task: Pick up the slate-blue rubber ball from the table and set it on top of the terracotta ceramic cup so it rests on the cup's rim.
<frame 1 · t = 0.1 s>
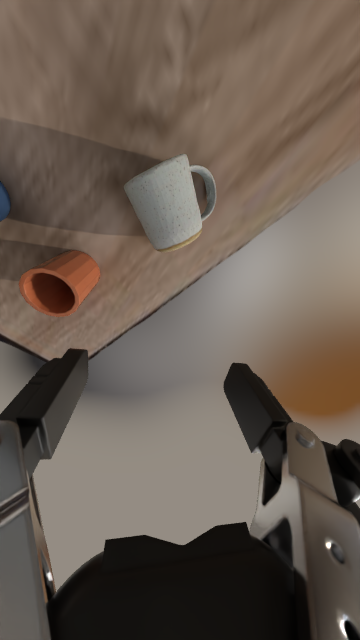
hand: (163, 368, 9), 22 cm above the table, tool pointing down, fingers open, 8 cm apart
cup: (79, 270, 27), on the table
ceramic mug: (174, 202, 24), on the table
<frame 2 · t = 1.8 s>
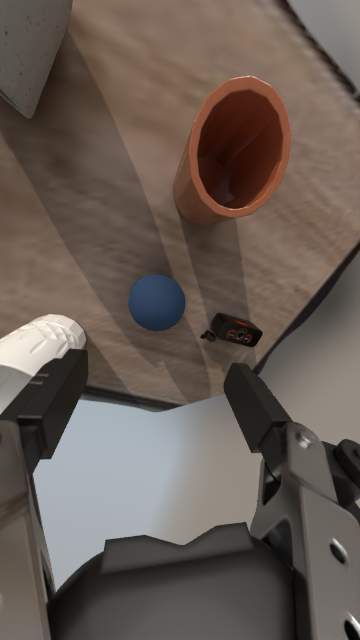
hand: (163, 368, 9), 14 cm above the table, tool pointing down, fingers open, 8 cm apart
cup: (202, 191, 18), on the table
wireless earbuds: (223, 326, 26), on the table
ball: (157, 303, 19), point 3 cm above the table
ceramic mug: (0, 23, 12), on the table
white cup: (60, 335, 23), on the table
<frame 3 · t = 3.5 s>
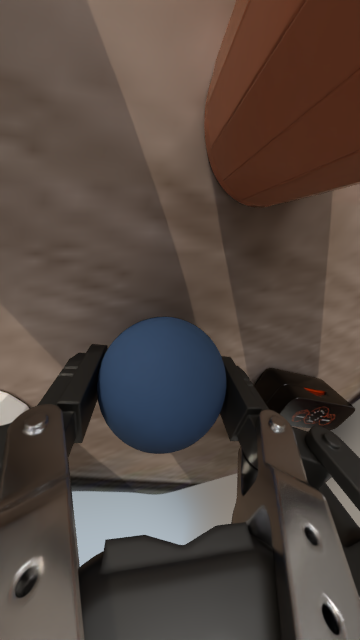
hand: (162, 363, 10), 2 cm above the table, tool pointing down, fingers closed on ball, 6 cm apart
cup: (272, 124, 7), on the table
wireless earbuds: (273, 384, 16), on the table
ball: (163, 377, 9), point 3 cm above the table, touching gripper
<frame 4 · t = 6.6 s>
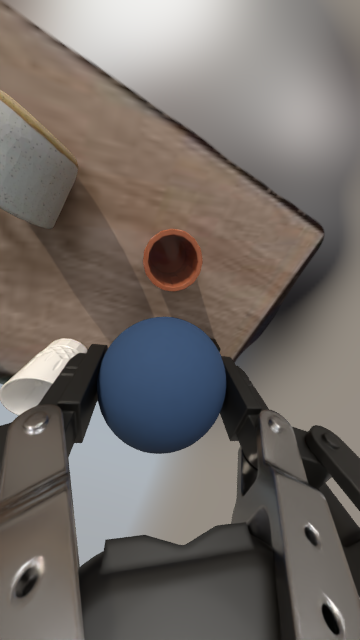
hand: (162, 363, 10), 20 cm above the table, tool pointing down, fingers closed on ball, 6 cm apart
cup: (167, 254, 26), on the table
ball: (163, 377, 9), point 21 cm above the table, touching gripper
ceramic mug: (34, 173, 20), on the table
white cup: (69, 352, 31), on the table
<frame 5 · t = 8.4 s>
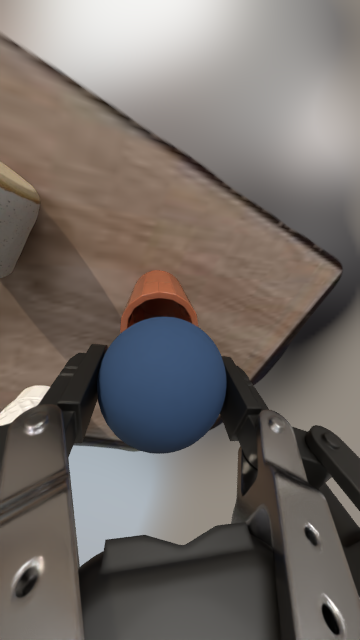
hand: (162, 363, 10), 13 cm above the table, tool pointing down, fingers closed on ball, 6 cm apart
cup: (158, 295, 22), on the table
ball: (164, 376, 9), point 14 cm above the table, touching gripper
white cup: (45, 399, 27), on the table
when the fingers open (10 cm above the table, at t = 9.9 s): ball stays where it is, resting on cup.
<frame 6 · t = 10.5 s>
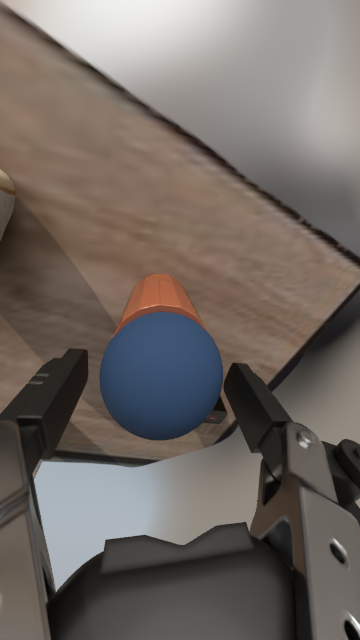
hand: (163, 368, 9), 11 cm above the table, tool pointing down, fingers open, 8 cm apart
cup: (159, 301, 19), on the table, touching ball
wireless earbuds: (193, 398, 27), on the table
ball: (163, 369, 9), point 11 cm above the table, touching cup
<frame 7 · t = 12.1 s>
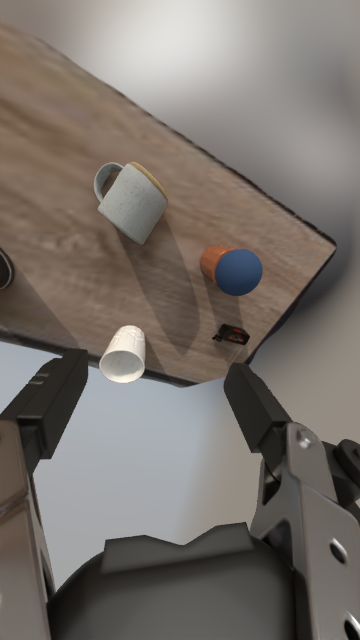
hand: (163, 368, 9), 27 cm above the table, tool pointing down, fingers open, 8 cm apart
cup: (215, 262, 34), on the table, touching ball
wireless earbuds: (226, 331, 42), on the table
ball: (237, 273, 24), point 11 cm above the table, touching cup
ceramic mug: (130, 205, 28), on the table
white cup: (130, 337, 40), on the table
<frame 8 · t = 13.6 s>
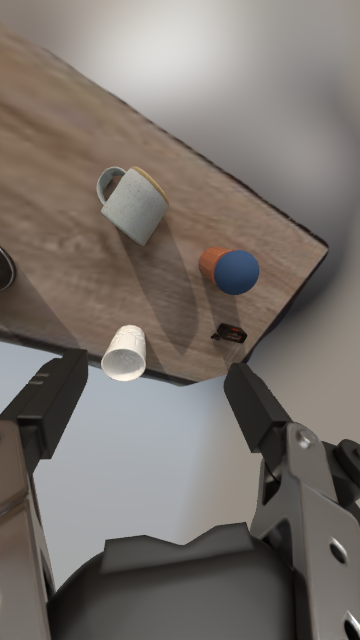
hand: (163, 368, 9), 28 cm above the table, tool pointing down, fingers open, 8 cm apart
cup: (213, 263, 35), on the table, touching ball
wireless earbuds: (224, 330, 43), on the table
ball: (235, 273, 25), point 11 cm above the table, touching cup
ceramic mug: (131, 208, 29), on the table
white cup: (130, 336, 40), on the table
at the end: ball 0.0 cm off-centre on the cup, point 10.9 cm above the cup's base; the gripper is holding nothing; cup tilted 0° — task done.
